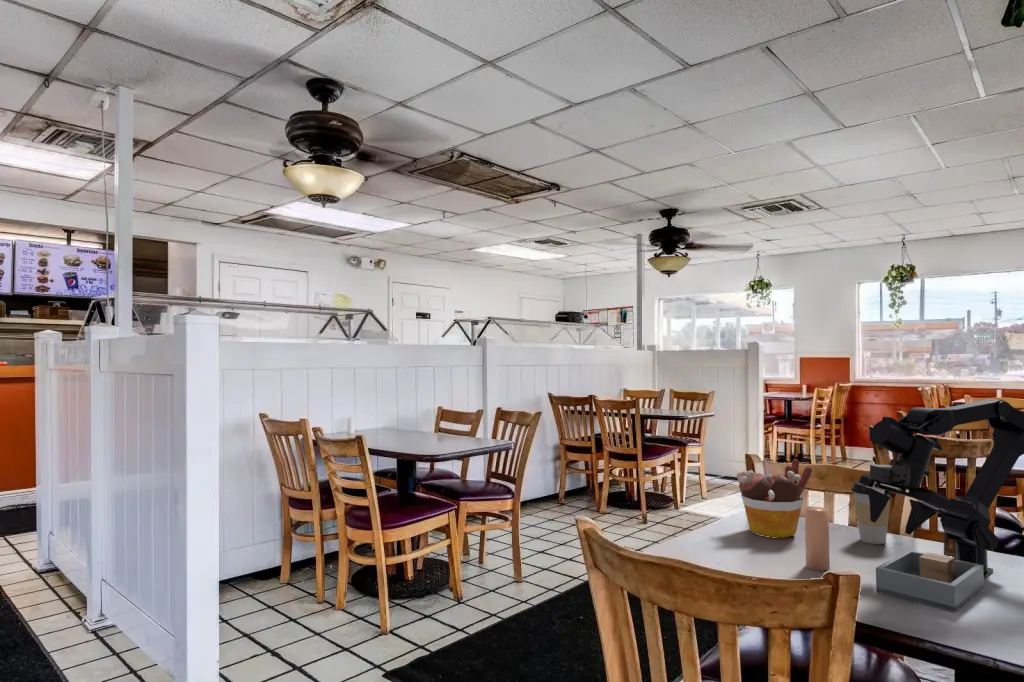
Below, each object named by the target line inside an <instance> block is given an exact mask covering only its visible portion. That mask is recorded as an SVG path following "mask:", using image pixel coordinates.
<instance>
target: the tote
mask: <svg viewBox="0 0 1024 682" xmlns="http://www.w3.org/2000/svg"><path fill="white" fill-rule="evenodd" d="M925 553H926V552H921V551H917V550H911V549H908V550H906V551H904V552H902V553H899V554H898V555H896V556H895V557H893V558H891V559H889V560H887V561H886V562H884V563H883V562H882V564H880V565H879V566H877V567H876V566H875V586H876V587H875V589H876V590H875V591H876V593H878V594H879V593H880V594H882V595H887V596H892V597H895V598H897V599H902V600H906V601H909V602H914V603H917V604H922V605H925V606H929V607H931V608H932V607H933V608H937V609H940V610H944V611H947V612H948V611H949V612H952V613H956V612H958V611H959V610H960V609H962V608H963V607H964V606H965V605H967V602H968V603H969V602H971V600H973V599H974V598H975V597H976V596H978V595H979V594H980V593H981V592H982V590H983V591H984V590H985V582H984V581H985V577H984V574H983V565H980V564H975V563H970V562H965V561H960V560H956V559H955V580H954V581H953V582H952V583H946V582H941V581H937V580H933V579H929V578H924V577H920V563H919V557H920V556H922V555H923V554H925ZM977 594H978V595H977ZM972 598H973V599H972Z"/></svg>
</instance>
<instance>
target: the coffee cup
mask: <svg viewBox="0 0 1024 682" xmlns="http://www.w3.org/2000/svg"><path fill="white" fill-rule="evenodd" d="M859 481H860V480H858V481H855V482H854V484H853V485H852V486H851V491H852V492H853V496H854V508H855V516H856V521H857V525H858V533H859V539H860V541H862V542H864V543H867V544H870V545H871V544H872V545H882V544H885V543H886V541H887V531H888V525H889V517H890V500H889V501H888V503H887V504H886V506H885V508H884V510H883V511H882V513H881V515H880V517H879V518H878V520H877V521H876V522H875V523H874V522H871V520H870V502H869V496H868V494H867V492H866V490H865V489H863V488H862V486H864V485H861V484H859ZM885 495H887V494H885ZM891 495H893V492H891V493H889V494H888V495H887V496H889V497H890V498H891Z"/></svg>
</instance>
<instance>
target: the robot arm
mask: <svg viewBox="0 0 1024 682" xmlns="http://www.w3.org/2000/svg"><path fill="white" fill-rule="evenodd" d="M981 421H986V423H987V425H988V426H989V427H990V428H991V429H992V430H993V431H992V434H991V436H992V441H993V442H992V443H993V447H992V448H991V450H990V452H989V454H988V456H987V457H986V459H985V461H984V462H983V463H982V466H981V467H980V469H979V471H978V473H977V474H976V476H975V478H974V479H973V481H972V483H971V485H970V486H969V487H968V490H967V491H966V493H965V494H964V496H962V497H961V498H959V499H957V498H953V497H950V498H949V497H947V496H945V495H943V494H941V493H939V492H937V491H934V490H933V489H928V488H924V487H921V485H922V482H923V479H924V477H929V476H930V471H928V470H927V467H928V464H929V462H930V459H931V456H932V453H933V451H934V450H936V451H943V447H942V445H941V443H939V440H938V438H936V437H930V436H929V437H926V436H927V435H931V436H941V435H944V434H946V433H948V432H951V431H952V430H953V429H954V427H957V426H960V425H965V424H972V423H977V422H981ZM924 435H925V436H924ZM868 438H869V440H870V442H871V443H872V444H874V445H876V446H878V447H880V448H882V449H884V450H886V451H889V452H891V453H893V454H895V455H896V454H897V458H896V459H891V460H890V462H889V464H870V465H869V473H864V474H862V475H861V476H860V479H859V480H858V481H859V484H861V485H864V486H862V488H863V489H865V490H866V492H867V494H868V496H869V502H870V520H871V522H874V523H875V522H876V521H877V520H878V518H879V517H880V515H881V513H882V511H883V510H884V508H885V506H886V504H887V503H888V501H889V502H890V499H891V496H890V497H889V496H887V495H888V494H889V493H891V492H892V494H896V495H901V496H904V497H908V498H909V500H908V501H909V502H910V507H911V509H910V511H909V512H910V513H909V515H908V518H907V521H906V525H905V529H904V530H905V531H904V533H905V534H907V535H911V534H912V533H914V532H915V531H916V530H917V529H918V528H919V527H920V526H921V525H923V524H924V523H925V522H926V521H928V520H929V519H930V518H932V517H934V516H935V515H936V514H939V515H940V514H941V513H942V514H941V516H940V519H939V522H940V523H941V527H942V529H943V533H944V534H945V535H946V538H947V539H949V540H953V541H956V557H955V558H956V559H955V560H960V561H965V562H970V563H975V564H980V565H983V574H984V578H986V577H988V576H989V575H990V574H991V573H993V572H994V568H991V567H988V564H989V563H988V551H993V549H997V548H998V546H999V545H998V544H999V542H1000V539H999V537H998V536H997V535H996V534H995V533H994V532H993V531H992V530H991V529H990V525H991V523H992V521H991V513H990V508H991V506H992V503H994V500H995V499H996V497H997V495H998V493H999V492H1000V490H1001V488H1002V487H1003V485H1004V483H1005V482H1006V480H1007V478H1008V476H1009V475H1010V473H1011V471H1012V469H1014V466H1015V464H1016V463H1017V461H1018V460H1019V458H1020V457H1022V456H1023V455H1024V411H1022V410H1020V409H1018V408H1015V407H1013V406H1012V405H1011V404H1010V403H1009V402H1007V401H1005V400H1004V399H993V398H992V399H991V398H985V399H982V400H980V401H975V402H969V403H968V402H967V403H963V404H958V405H953V406H948V407H941V408H939V407H938V408H937V407H912V408H910V409H908V413H907V414H906V415H904V416H902V417H901V418H900V419H898V420H896V419H895V418H893V417H891V416H884V415H883V416H882V419H881V420H880V421H878V422H876V423H875V424H874V425H873V427H872V428H870V430H869V436H868ZM885 494H887V495H885ZM914 499H915V500H914Z"/></svg>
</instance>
